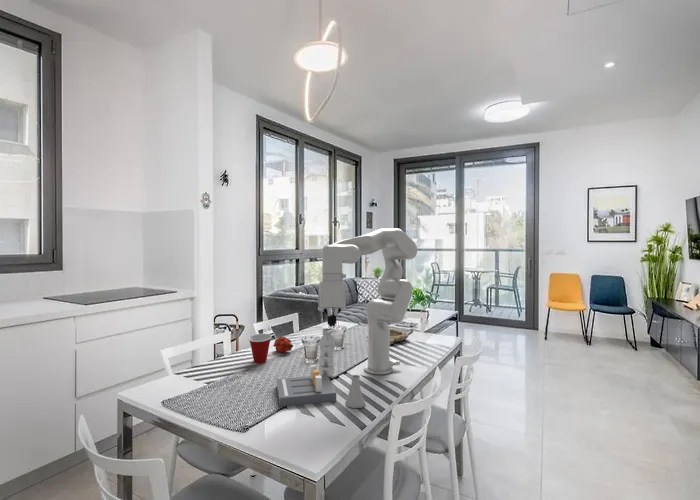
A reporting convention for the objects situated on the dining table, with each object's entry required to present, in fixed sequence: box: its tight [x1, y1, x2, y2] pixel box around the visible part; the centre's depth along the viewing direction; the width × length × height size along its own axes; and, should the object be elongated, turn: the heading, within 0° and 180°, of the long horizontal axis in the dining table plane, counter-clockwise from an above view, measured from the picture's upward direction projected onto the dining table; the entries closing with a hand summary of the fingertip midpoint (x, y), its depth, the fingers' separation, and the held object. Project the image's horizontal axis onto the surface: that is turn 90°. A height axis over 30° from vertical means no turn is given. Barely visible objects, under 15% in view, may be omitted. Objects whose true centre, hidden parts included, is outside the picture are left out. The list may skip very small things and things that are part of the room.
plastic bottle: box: [318, 328, 336, 379], centre depth 157 cm, size 6×7×20 cm
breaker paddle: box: [313, 369, 319, 386], centre depth 141 cm, size 2×2×5 cm
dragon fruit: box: [272, 335, 294, 355], centre depth 191 cm, size 8×8×12 cm
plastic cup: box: [248, 333, 273, 364], centre depth 175 cm, size 11×11×12 cm
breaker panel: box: [276, 364, 337, 408], centre depth 140 cm, size 20×18×8 cm
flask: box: [344, 374, 366, 409], centre depth 131 cm, size 7×7×10 cm
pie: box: [366, 328, 409, 345], centre depth 217 cm, size 28×27×5 cm
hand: (331, 325), depth 142 cm, fingers closed
